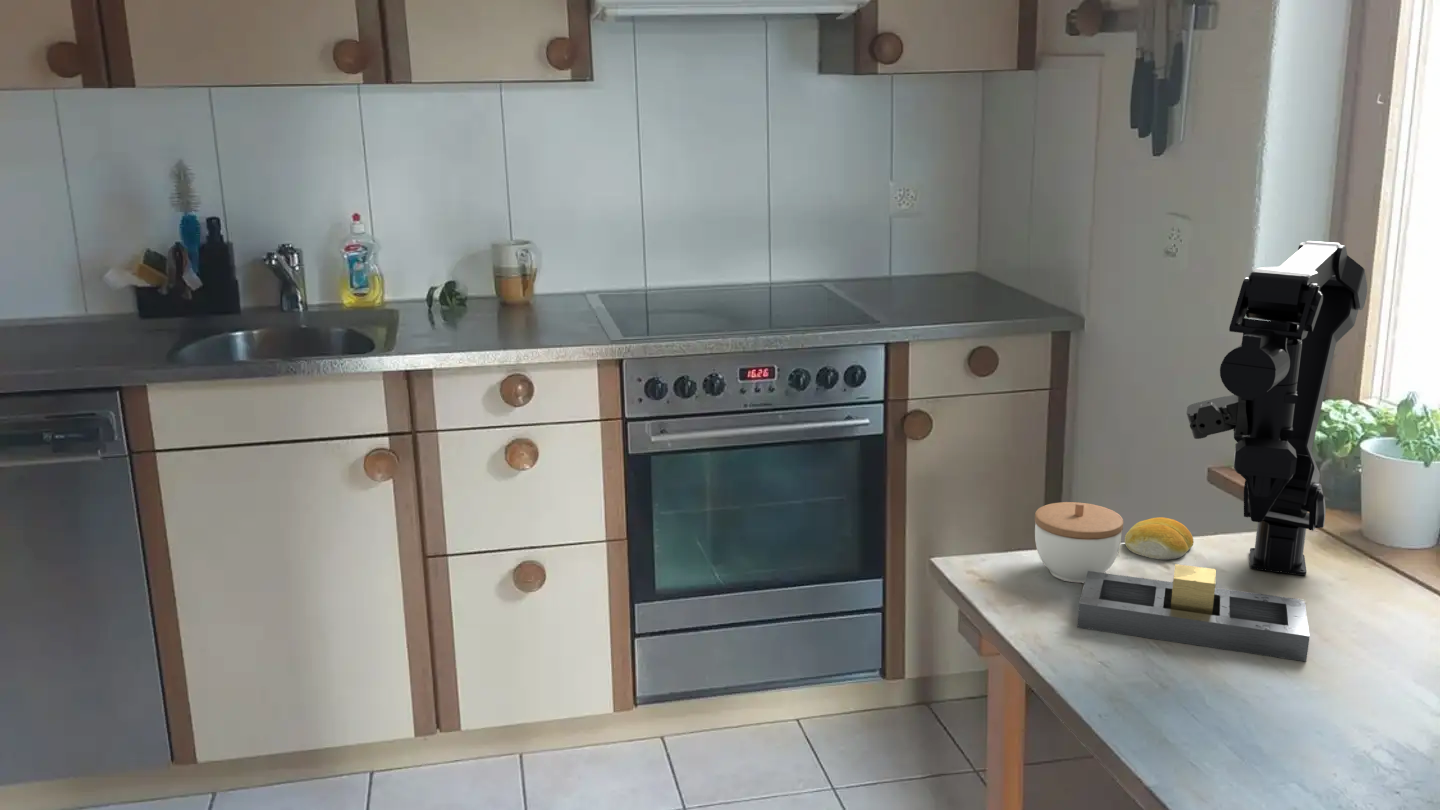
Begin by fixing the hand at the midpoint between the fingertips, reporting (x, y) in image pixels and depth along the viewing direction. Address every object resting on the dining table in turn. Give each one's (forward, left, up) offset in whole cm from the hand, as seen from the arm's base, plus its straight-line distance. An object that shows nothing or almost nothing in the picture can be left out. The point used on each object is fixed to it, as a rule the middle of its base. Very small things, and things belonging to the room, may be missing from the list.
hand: (1255, 508), depth 145 cm
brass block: (+9, -6, -12) cm, 16 cm away
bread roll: (-15, -10, -12) cm, 22 cm away
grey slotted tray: (+9, -6, -12) cm, 16 cm away
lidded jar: (-2, -20, -12) cm, 24 cm away
